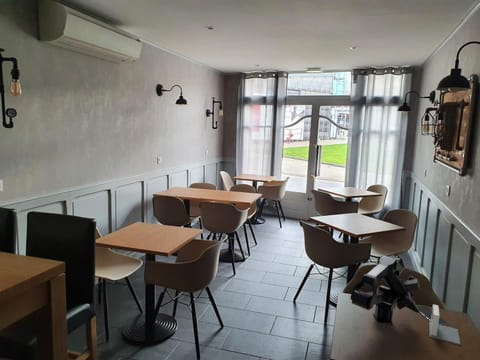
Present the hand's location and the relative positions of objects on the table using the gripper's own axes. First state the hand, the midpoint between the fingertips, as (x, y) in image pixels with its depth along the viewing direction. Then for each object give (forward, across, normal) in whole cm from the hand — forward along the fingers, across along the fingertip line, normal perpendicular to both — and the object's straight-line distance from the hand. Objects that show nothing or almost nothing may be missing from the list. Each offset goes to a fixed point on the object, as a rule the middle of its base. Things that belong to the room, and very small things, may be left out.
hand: (417, 312), depth 153 cm
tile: (+9, 0, 0) cm, 9 cm away
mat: (+12, 0, -3) cm, 12 cm away
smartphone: (+9, +14, +1) cm, 17 cm away
